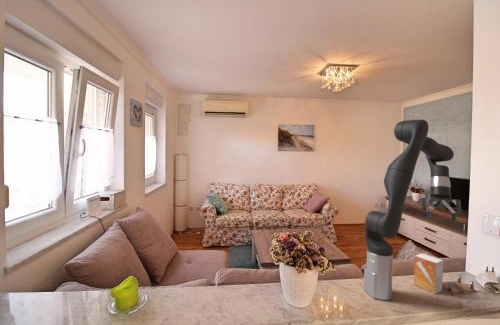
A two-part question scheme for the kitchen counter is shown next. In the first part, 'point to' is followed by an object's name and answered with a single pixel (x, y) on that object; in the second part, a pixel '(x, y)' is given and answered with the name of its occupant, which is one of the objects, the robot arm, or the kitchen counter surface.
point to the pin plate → (458, 287)
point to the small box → (428, 273)
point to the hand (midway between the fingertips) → (440, 221)
